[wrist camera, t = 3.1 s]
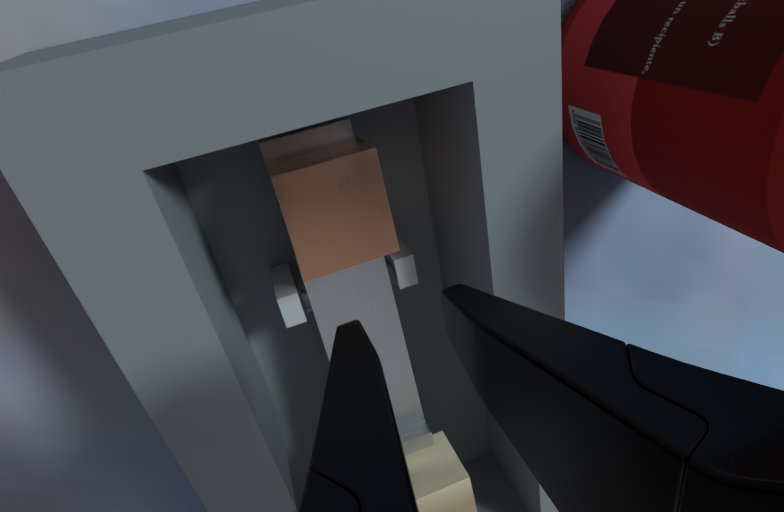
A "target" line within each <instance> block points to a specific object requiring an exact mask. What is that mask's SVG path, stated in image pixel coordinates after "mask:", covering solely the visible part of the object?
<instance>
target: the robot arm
mask: <svg viewBox="0 0 784 512" xmlns="http://www.w3.org/2000/svg"><path fill="white" fill-rule="evenodd" d="M440 301H441V307H442V313H443V320H444V325H445V329H446V332H447V335H448V337H449V339H450V341H451V343H452V345H453V347H454V349H455V350H456V352H457V354H458V356H459V358H460V360H461V362H462V364H463V366H464V367H465V369H466V371H467V373H468V375H469V377H470V379H471V381H472V383H473V384H474V386H475V388H476V390H477V392H478V394H479V396H480V397H481V399H482V401H483V403H484V404H485V406H486V407H487V409H488V410H489V412H490V414H491V415H492V416H493V418H494V419H495V421H496V422H497V424H498V425H499V426H500V428H501V429H502V431H503V432H504V434H505V435H506V437H507V438H508V439H509V441H510V442H511V444H512V445H513V447H514V448H515V449H516V451H517V452H518V454H519V455H520V457H521V458H522V460H523V461H524V462H525V464H526V465H527V467H528V468H529V470H530V471H531V473H532V474H533V475H534V477H535V478H536V480H537V481H538V483H539V484H540V485H541V487H542V488H543V490H544V491H545V493H546V494H547V496H548V497H549V498H550V500H551V501H552V503H553V504H554V506H555V507H556V509H557V510H558V511H559V512H784V391H782V390H779V389H775V388H772V387H768V386H764V385H761V384H757V383H754V382H750V381H746V380H743V379H739V378H736V377H732V376H728V375H725V374H721V373H718V372H714V371H711V370H708V369H704V368H701V367H698V366H694V365H691V364H687V363H684V362H681V361H678V360H675V359H672V358H669V357H666V356H663V355H660V354H657V353H654V352H651V351H648V350H646V349H643V348H640V347H637V346H635V345H632V344H627V345H626V344H625V342H623V341H620V340H617V339H615V338H612V337H609V336H606V335H604V334H601V333H598V332H595V331H592V330H590V329H587V328H584V327H581V326H578V325H576V324H573V323H570V322H567V321H565V320H562V319H559V318H556V317H553V316H551V315H548V314H545V313H542V312H540V311H537V310H534V309H531V308H528V307H526V306H523V305H520V304H517V303H515V302H512V301H509V300H506V299H503V298H501V297H498V296H495V295H492V294H490V293H487V292H484V291H481V290H478V289H476V288H473V287H470V286H467V285H464V284H456V285H453V286H450V287H447V288H445V289H442V290H441V292H440ZM308 470H309V471H308V472H307V475H306V480H305V485H304V490H303V495H302V499H301V503H300V507H299V511H298V512H419V510H418V506H417V502H416V498H415V494H414V490H413V486H412V482H411V478H410V474H409V470H408V466H407V462H406V458H405V454H404V450H403V446H402V442H401V439H400V435H399V431H398V427H397V423H396V419H395V415H394V411H393V407H392V403H391V399H390V395H389V392H388V388H387V384H386V380H385V376H384V372H383V368H382V364H381V361H380V358H379V356H378V354H377V352H376V350H375V348H374V346H373V344H372V342H371V341H370V339H369V337H368V335H367V333H366V331H365V330H364V328H363V326H362V324H361V322H360V321H359V320H353V321H350V322H347V323H344V324H341V325H339V326H338V327H337V329H336V333H335V338H334V343H333V348H332V353H331V358H330V362H329V367H328V372H327V377H326V382H325V387H324V392H323V397H322V402H321V407H320V412H319V417H318V422H317V427H316V432H315V437H314V442H313V447H312V452H311V456H310V461H309V466H308Z"/></svg>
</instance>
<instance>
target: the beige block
mask: <svg viewBox="0 0 784 512" xmlns="http://www.w3.org/2000/svg"><path fill="white" fill-rule="evenodd" d="M433 439H434V444H433V445H430V446H428V447H426V448H423V449H421V450H418V451H416V452H413V453H411V454H408V455H406V456H405V458H406V462H407V466H408V470H409V474H410V478H411V482H412V486H413V490H414V494H415V498H416V502H417V506H418V510H419V512H477V508H476V504H475V499H474V494H473V490H472V485H471V481H470V477H469V475H468V473H467V472H466V470H465V468H464V466H463V465H462V463H461V461H460V460H459V458H458V456H457V454H456V453H455V451H454V449H453V448H452V446H451V444H450V443H449V441H448V439H447V437H446V436H445V434H444V432H443V431H440V432H438V433H435V434H433Z"/></svg>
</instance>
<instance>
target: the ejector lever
mask: <svg viewBox="0 0 784 512" xmlns="http://www.w3.org/2000/svg"><path fill="white" fill-rule="evenodd" d="M257 141H258V144H259V147H260V150H261V153H262V156H263V159H264V162H265V166H266V169H267V172H268V175H269V178H270V181H271V184H272V187H273V190H274V193H275V196H276V199H277V202H278V206H279V209H280V212H281V215H282V218H283V221H284V224H285V227H286V230H287V233H288V236H289V239H290V242H291V246H292V249H293V252H294V255H295V258H296V261H297V264H298V267H299V270H300V273H301V276H302V279H303V282H304V286H305V289H303V290H300V292H301V295H302V299H303V302H304V305H305V308H306V311H307V313H309V312H312V311H313V313H314V316H315V319H316V322H317V326H318V329H319V332H320V335H321V338H322V341H323V344H324V347H325V350H326V353H327V356H328V359H329V362H330V358H331V353H332V348H333V343H334V338H335V333H336V329H337V327H338V326H339V325H341V324H344V323H347V322H350V321H353V320H359V321H360V322H361V324H362V326H363V328H364V330H365V331H366V333H367V335H368V337H369V339H370V341H371V342H372V344H373V346H374V348H375V350H376V352H377V354H378V356H379V358H380V361H381V364H382V368H383V372H384V376H385V380H386V384H387V388H388V392H389V395H390V399H391V403H392V407H393V411H394V415H395V419H396V423H397V427H398V431H399V435H400V439H401V442H402V446H403V450H404V454H405V456H406V455H408V454H411V453H413V452H416V451H418V450H421V449H423V448H426V447H428V446H430V445H433V444H434V439H433V435H432V432H431V430H430V428H429V426H428V424H427V423H426V421H425V419H424V415H423V411H422V407H421V403H420V399H419V395H418V391H417V387H416V383H415V379H414V375H413V371H412V367H411V363H410V359H409V355H408V351H407V347H406V343H405V339H404V335H403V331H402V327H401V323H400V319H399V314H398V310H397V306H396V302H395V298H394V294H393V290H392V286H391V284H394V283H396V279H395V275H394V272H393V269H392V266H391V264H390V263H389V262H385V258H384V256H386V255H389V254H392V253H395V252H398V251H400V248H399V244H398V240H397V235H396V231H395V227H394V223H393V218H392V214H391V210H390V205H389V201H388V197H387V193H386V188H385V184H384V180H383V175H382V171H381V167H380V163H379V158H378V154H377V150H376V147H374V146H373V145H371V144H369V143H367V142H366V141H364V140H362V139H360V138H358V137H357V136H355V135H354V133H353V129H352V125H351V121H350V118H348V117H345V116H343V117H339V118H336V119H332V120H328V121H325V122H321V123H317V124H314V125H310V126H306V127H303V128H299V129H295V130H292V131H288V132H284V133H280V134H277V135H273V136H269V137H266V138H262V139H258V140H257Z"/></svg>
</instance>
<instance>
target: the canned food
mask: <svg viewBox="0 0 784 512" xmlns="http://www.w3.org/2000/svg"><path fill="white" fill-rule="evenodd" d="M561 68H562V134H563V136H564V137H565V138H566V140H567V141H568V142H569V144H570V145H571V146H572V147H573V148H574V150H575V151H576V152H577V153H578V154H580V155H581V156H582V157H583V158H584V159H586V160H587V161H588V162H590V163H592V164H594V165H596V166H599V167H601V168H603V169H605V170H607V171H609V172H611V173H614V174H616V175H618V176H620V177H622V178H624V179H626V180H629V181H631V182H633V183H635V184H637V185H639V186H641V187H644V188H646V189H648V190H650V191H652V192H654V193H656V194H659V195H661V196H663V197H665V198H667V199H669V200H671V201H674V202H676V203H678V204H680V205H682V206H684V207H686V208H689V209H691V210H693V211H695V212H697V213H699V214H701V215H704V216H706V217H708V218H710V219H712V220H714V221H716V222H719V223H721V224H723V225H725V226H727V227H729V228H731V229H734V230H736V231H738V232H740V233H742V234H744V235H746V236H749V237H751V238H753V239H755V240H757V241H759V242H761V243H764V244H766V245H768V246H770V247H772V248H774V249H776V250H779V251H781V252H783V253H784V0H579V1H578V2H577V4H576V5H575V7H574V8H573V10H572V11H571V12H570V14H569V15H568V17H567V19H566V21H565V23H564V25H563V27H562V29H561Z"/></svg>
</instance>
